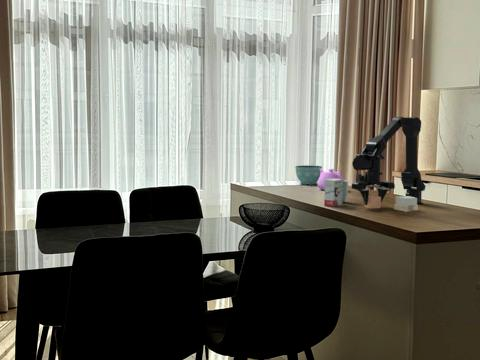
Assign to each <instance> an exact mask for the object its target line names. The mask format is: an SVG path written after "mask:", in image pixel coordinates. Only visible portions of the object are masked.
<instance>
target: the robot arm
mask: <svg viewBox="0 0 480 360" xmlns="http://www.w3.org/2000/svg"><path fill="white" fill-rule="evenodd" d="M400 129H401V131H402V133H403V135H404V137H405V169H404V170H403V171H401V173H400V177H401V178H400V181H401V184H402V187H403V190H406V191H405V196H410V197H415V198H417V205H420V204H421V205H422V204H424V202H422V193H423V192H424V191H425V190H426V187H427V186H426V185H425V183H424V182H423V180H422V175H421V172H420V170H419V169H418V136H419V134H420V133H421V129H422V120H421V119H420V118H419V117H416V116H414V117H413V116H412V117H409V116H406V117H403V116H394V117H392V119H391V121H390V122H389V123H388V124H387V125H386V126H385V127H384V129H383V130H381V132H380V133H378V135H376V136H375V137H372V138H371V139H369V140H368V141H367V142H366V143H365V146H364V148H363V150H362V151H361V153H360V154H355V158H354V159H353V161H352V164H351V165H352V167H353V169H354V170H355V171H365V172H364V175H363V174H362V173H358V174H356V176H355V179H356V181H353V182H352V183H351V189H352V190H356V191H359V193H360V194H361V196H362V197H361V198H362V200H363V203H364V206H365V205H367V203H368V196H370V190H368V188H376V189H377V192H378V193H377V196H379V197H381V203H382V202H383V200H384V198H385V196H386V195H387V193H388V192H390V189H393V190H394V189H395V188H396V187H395V186H396V185H395V183H394V182H393V181H388V180H385V181H381V176H383V172H382V171H381V169H382V168H381V167H382V163H381V162H382V160H385V156H383V155H382V154H383V152H384V151H385V149H386V148H387V144H388V142H389V141H390V140H391V138H393V136H395V134H396V133H397V132H398V130H400Z"/></svg>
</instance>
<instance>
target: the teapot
mask: <svg viewBox="0 0 480 360" xmlns="http://www.w3.org/2000/svg"><path fill="white" fill-rule="evenodd" d="M320 172H321V173H320V177H319V179H318V181H317V187H318V188H319V190H322V189H323V190H322V191H325V179H343V180H344V178H343V176H342V174H341V172H339V171H335V169H334V168H329V169H328V171H324V170H323V168H322V169H320Z"/></svg>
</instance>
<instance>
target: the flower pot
mask: <svg viewBox="0 0 480 360" xmlns="http://www.w3.org/2000/svg"><path fill="white" fill-rule="evenodd" d="M294 168H295V174H296V177H297V179H298V181H299V182H300V185H305V184H309V186H311V185H316V184H318V180H319V177H320V173H321V172H320V169H322V170H323V166H322V165H296V166H295V167H294Z"/></svg>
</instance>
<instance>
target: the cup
mask: <svg viewBox="0 0 480 360" xmlns="http://www.w3.org/2000/svg"><path fill="white" fill-rule="evenodd" d="M348 189H349V182H348V180H345V179H343V186H342V203H344V202H346V200H347V198H348V192H349V191H348Z"/></svg>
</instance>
